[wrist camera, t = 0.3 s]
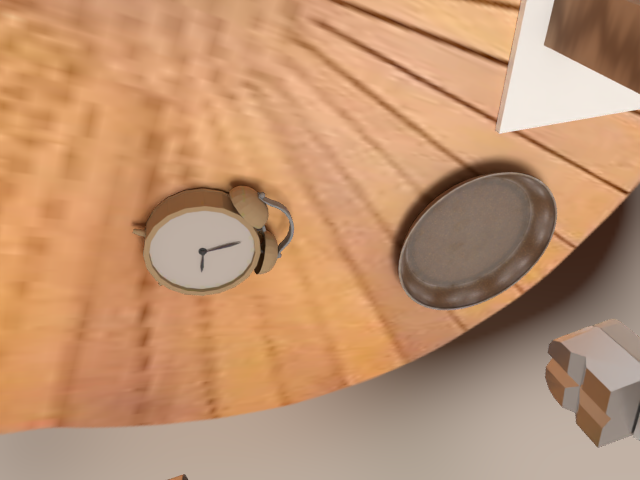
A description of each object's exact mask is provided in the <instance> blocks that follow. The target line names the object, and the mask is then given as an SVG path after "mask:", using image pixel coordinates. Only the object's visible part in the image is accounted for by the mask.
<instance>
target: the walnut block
mask: <svg viewBox="0 0 640 480" xmlns="http://www.w3.org/2000/svg"><path fill="white" fill-rule="evenodd" d="M544 46H546V47H548V48H550V49H552V50H554V51H556V52H558V53H560V54H562V55H564V56H566V57H568V58H570V59H572V60H574V61H576V62H578V63H580V64H582V65H583V66H585V67H587V68H589V69H591V70H593V71H595V72H597V73H599V74H601V75H603V76H605V77H607V78H609V79H611V80H613V81H615V82H617V83H619V84H621V85H623V86H625V87H627V88H629V89H631V90H633V91H634V92H636V93H638V94H640V0H554V4H553V8H552V12H551V16H550V21H549V25H548V29H547V33H546V38H545V42H544Z"/></svg>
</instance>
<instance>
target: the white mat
mask: <svg viewBox="0 0 640 480" xmlns="http://www.w3.org/2000/svg"><path fill="white" fill-rule="evenodd" d="M553 4H554V0H521V5H520V10H519V15H518V20H517V24H516V29H515V34H514V39H513V44H512V49H511V54H510V59H509V64H508V69H507V74H506V79H505V84H504V89H503V94H502V99H501V104H500V109H499V114H498V119H497V124H496V129H495V131H497V132H498V133H505V132H511V131H517V130H523V129H528V128H534V127H540V126H546V125H551V124H557V123H563V122H569V121H574V120H580V119H586V118H592V117H597V116H603V115H609V114H615V113H620V112H626V111H632V110H638V109H640V94H638V93H636V92H634V91H633V90H631V89H629V88H627V87H625V86H623V85H621V84H619V83H617V82H615V81H613V80H611V79H609V78H607V77H605V76H603V75H601V74H599V73H597V72H595V71H593V70H591V69H589V68H587V67H585V66H583V65H582V64H580V63H578V62H576V61H574V60H572V59H570V58H568V57H566V56H564V55H562V54H560V53H558V52H556V51H554V50H552V49H550V48H548V47H546V46H544V42H545V38H546V33H547V29H548V25H549V21H550V16H551V12H552V8H553Z"/></svg>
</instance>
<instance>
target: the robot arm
mask: <svg viewBox="0 0 640 480" xmlns="http://www.w3.org/2000/svg"><path fill="white" fill-rule="evenodd" d="M548 354H549V355H550V356H551V357H552V359H551V361H550V362H549V363H548V365H547V366H546V372H545V378H546V382H547V385H548V388H549V390H550V392H551V393H552V395H553V397H554V398H555V399H556V401H557V402H558V403H559V404H560V405H561V406H562V407H563V408H565V409H568V410H570V411H572V412H575V416H576V424H577V425H578V426H579V427H580V428H581V429H582V431H584V433H585V434H586V435H587V436H588V437H589V438H590V439H591V441H592V442H593V443H594V444H595V445H596V446H597V447H598V448H599V447H602V446H604V445H607V444H610V443H612V442H615V441H618V440H620V439H623V438H626V437H629V436H631V435H633V437H634V438H635V439H637V440H639V441H640V337H639V336H638V335H636V334H635V333H634V332H633V331H632V330H630V329H629V328H628V327H627V326H625V325H624V324H623V323H622V322H620V321H619V320H616V319H609V320H606V321H604V322H601V323H598V324H596V325H593V326H588V327H586V328H583V329H580V330H578V331H575V332H573V333H570V334H567V335H565V336H562V337H560V338H557V339H554V340H552V342H551V343H550V344H549V347H548ZM168 480H188V478H187V477H186V475H185V474H183V475H180V476H178V477H175V478H171V479H168Z"/></svg>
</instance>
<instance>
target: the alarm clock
mask: <svg viewBox="0 0 640 480" xmlns="http://www.w3.org/2000/svg"><path fill="white" fill-rule="evenodd" d="M266 204H268V205H270V206H272V207H275V208H277V209H279V210H281V211H282V212H284V213H285V214H286V216H287V217H288V219H289V222H290V227H289V232H288V234H287V236H286V237H285V239H284V240H283V241H282V242H281V243H280V244H279V245H278V244H277V240H276V238H275V236H274V235H273V234H272V233H270V232H269V231H267V230H266V228H265V223H266V222H267V220H268V208H267V205H266ZM257 231H259V233H261V234H263V237H264V240H263V242H262V244H261V245H260V240H259V236H258V232H257ZM133 233H134V234H136V235H139V236H143V237H144V238H145V244H144V251H143V256H144V260H145V263H146V267H147V269H148V271H149V272H150V273H151V275H152V276H153V277H154V278H155V280H156V281H158V282H159V283H158V284H159V285H160V286H161V285H164V286H165V287H167V288H168V289H170V290H173V291H176V292H179V293H182V294H186V295H200V296H204V295H210V294H217V293H221V292H224V291H226V290H229V289H231V288H234V287H236V286H237V285H238V284H240V283H241V282H242V281H244V280H245V279H247V278H248V277H249V275H250V274H251V273H252V271H253V270H254V271H255V273H256V274H264V273H267V272H269V271H270V270H271V269H272V268H273V267H274V265H275V263H276V260H277V258H280V257H281V253H280V252H281V251H282V250H283V249H284V248H285V247H286V246H287V245H288V244H289V242H290V241H291V239H292V237H293V233H294V225H293V221H292V217H291V215H290V213H289V211H288V210H287V208H286V207H285V206H284V205H282V204H281V203H279V202H277V201H274V200H271V199H269V198H267V197H265V194H264V193H263V192H261V193H259V192H256V191H255V190H254V189H252V188H250V187H248V186H237V187H235V188H233V189H231V190H230V193H229V194H227V193H225V192H223V191H218V190H211V189H204V188H202V189H194V190H185V191H182V192H180V193H178V194H175V195H173V196H170V197H168V198H166V199H165V200H164V201H163V202H162V203H160V204H159V205H158V206H157V207H156V208H155V209H154V210H153V212H152V214H151V215H150V217H149V219H148V221H147V222H146V229H145V230H141V229H134V230H133Z"/></svg>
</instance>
